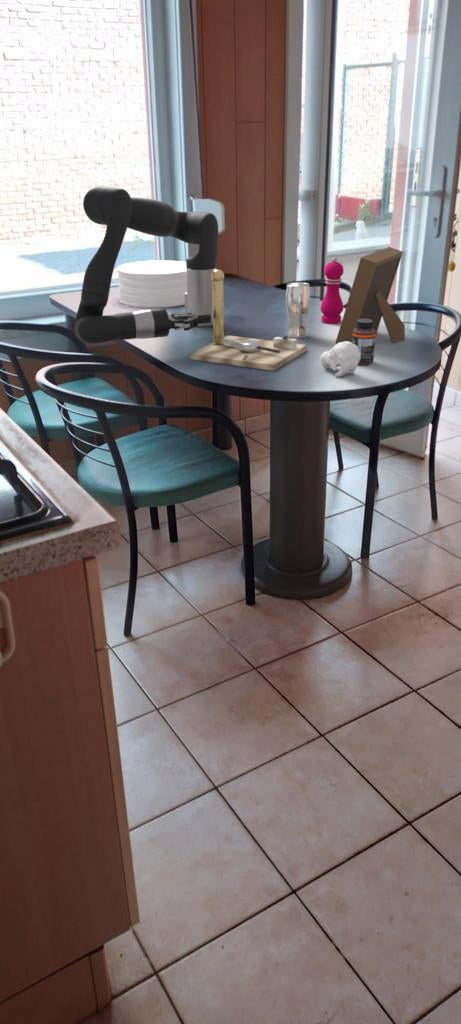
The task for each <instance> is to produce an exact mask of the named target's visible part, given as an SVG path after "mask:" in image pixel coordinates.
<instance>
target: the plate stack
mask: <svg viewBox="0 0 461 1024" xmlns="http://www.w3.org/2000/svg"><path fill="white" fill-rule="evenodd" d="M116 270H117V271H116V272H117V280H118V283H117V287H118V288H119V289H118V295H119V298H118V299H119V302H120V303H121V304H123V305H125V306H131V307H138V308H149V309H151V308H152V309H158V308H171V307H179V306H183V305H184V306H185V297H184V294H185V293H186V292H187V277H186V261H180V260H179V261H178V260H143V261H134V262H128V263H124V264H120V265H119V266H117V268H116Z"/></svg>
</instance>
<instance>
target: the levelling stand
mask: <svg viewBox="0 0 461 1024" xmlns="http://www.w3.org/2000/svg"><path fill="white" fill-rule="evenodd" d="M224 338H229V339H234V340H239V341H246V340H253V341H258V342H260V346H262V347H267V348H272V349H277V350H280V353H276V352H271V351H266V350H261V349H260V351H258V352H252V353H247V352H241V351H239V349H238V346H233V345H228V344H221V345H216V344H213V342H211V343H209V344H207V345H205V346H203V347H201V348H199V349H197V350H195V351H193V352H191V353H189V356H190V357H189V359H190V360H193V361H194V360H195V361H203V362H208V363H216V364H221V365H222V364H224V365H230V366H231V365H232V366H237V367H244V368H251V369H259V370H266V371H273V372H275V371H277V370H278V369H279V368H281V367H282V366H284V365H286V364H287V363H289V362H290V361H292V360H293V359H295V358H296V357H298V356H300V355H302V354H303V353H305V352H306V351H308V350H307V346H308V345H307V344H302V343H300V344H299V343H298V342H297V341H298V340H297V339H298V338H291V337H288V336H287V335H283V336H282V337H280V336H275V337H274V338H273V339H272V340H267V339H263V338H262V339H261V338H254V337H253V338H252V337H246V336H245V337H244V336H237V335H236V336H235V335H224Z"/></svg>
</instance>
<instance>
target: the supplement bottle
mask: <svg viewBox="0 0 461 1024" xmlns="http://www.w3.org/2000/svg"><path fill="white" fill-rule="evenodd" d="M372 325H373V321H372V320H371V319H359V320H357V327H356V328H354V330H353V336H352V343H353V344H355V345H356V346H357V347H358V349H359V352H360V354H361V356H360V359H359V363H358V365H357V366H370V365H371V364H373V363H374V359H375V349H376V348H375V345H376V334H377V333H376V331H375V329H374V328H372Z"/></svg>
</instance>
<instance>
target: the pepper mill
mask: <svg viewBox="0 0 461 1024" xmlns="http://www.w3.org/2000/svg"><path fill="white" fill-rule="evenodd" d="M323 274H324V275H325V277H326V278H325V279H324V280H325V284H326V292H325V294H324V297H323V299H322V301H321V304H320V312H321V313H322V314H323V315H321V320H320V321H321V323H323V324H326V323H327V324H328V325H337V324H341V323H342V316H341V314H342V313H343V312H344V302H343V300H342V297H341V295H340V294H341V293H340V284H341V283H342V278H341V277H342V276H343V274H344V266H343V264H342V263H341V262H338V258H337V257H336V256H333V257H332V258H331V261H330V262H328V263H327V264H326V265H325V266H324V269H323Z"/></svg>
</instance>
